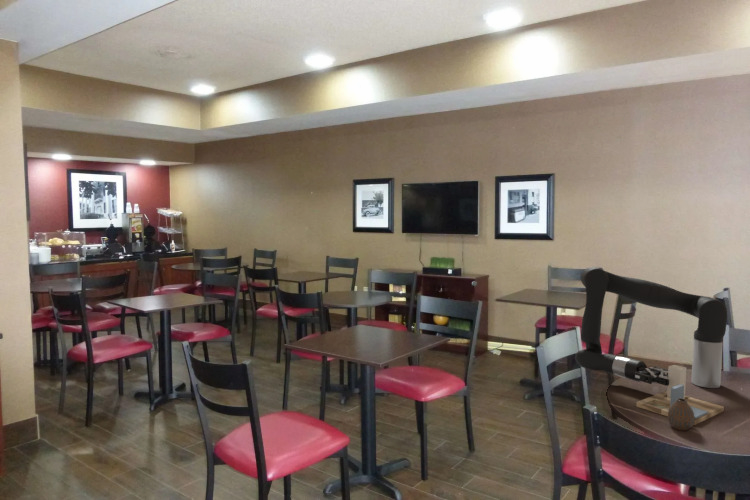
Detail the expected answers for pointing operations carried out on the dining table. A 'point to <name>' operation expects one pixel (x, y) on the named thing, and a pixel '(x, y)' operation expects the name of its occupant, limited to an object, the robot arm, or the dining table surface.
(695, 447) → the dining table surface
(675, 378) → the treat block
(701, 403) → the puzzle board
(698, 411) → the blue l-shaped block
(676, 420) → the vase
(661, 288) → the robot arm
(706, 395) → the dining table surface
